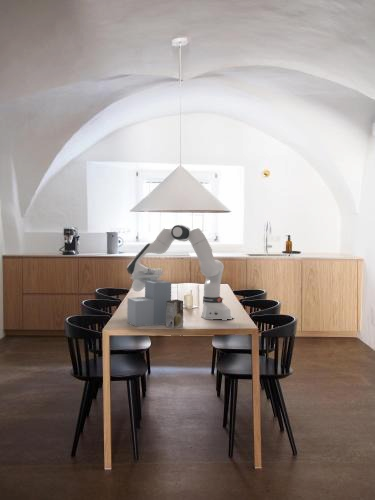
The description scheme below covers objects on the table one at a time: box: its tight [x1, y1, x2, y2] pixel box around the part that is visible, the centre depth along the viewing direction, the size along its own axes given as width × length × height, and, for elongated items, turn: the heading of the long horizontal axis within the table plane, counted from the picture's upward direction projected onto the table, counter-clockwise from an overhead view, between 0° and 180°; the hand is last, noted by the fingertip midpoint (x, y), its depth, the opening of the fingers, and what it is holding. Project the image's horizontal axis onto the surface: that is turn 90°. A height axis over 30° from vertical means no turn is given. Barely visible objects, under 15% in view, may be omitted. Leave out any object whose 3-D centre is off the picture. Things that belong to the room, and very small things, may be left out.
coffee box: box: [165, 299, 184, 329], centre depth 299 cm, size 9×6×16 cm
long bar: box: [147, 267, 164, 276], centre depth 317 cm, size 20×4×4 cm, turn 28°
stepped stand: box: [126, 279, 172, 327], centre depth 310 cm, size 14×24×26 cm, turn 118°
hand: (150, 269), depth 322 cm, fingers closed on long bar, 2 cm apart
